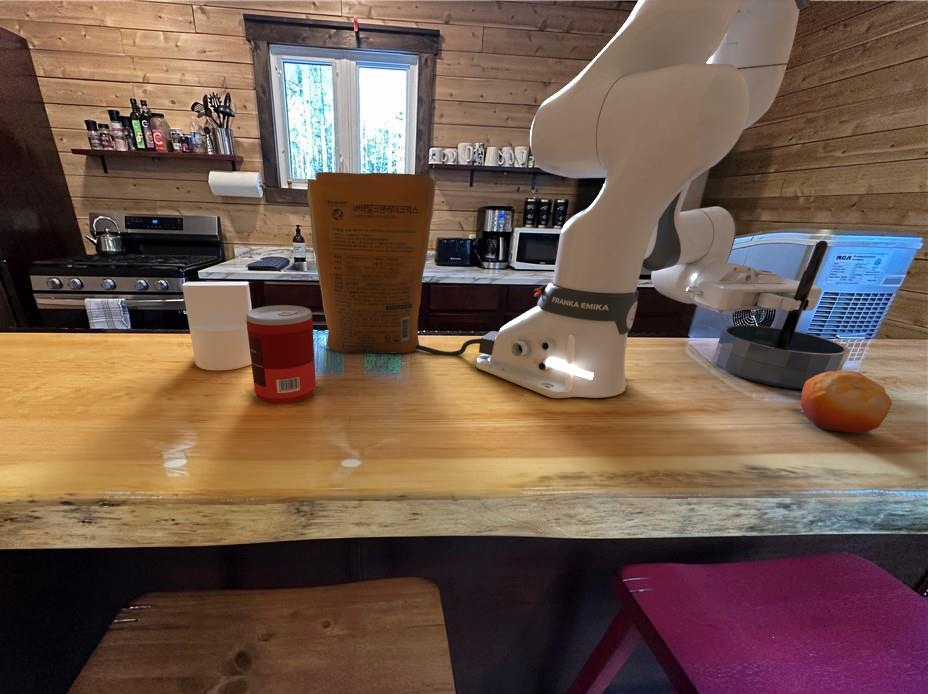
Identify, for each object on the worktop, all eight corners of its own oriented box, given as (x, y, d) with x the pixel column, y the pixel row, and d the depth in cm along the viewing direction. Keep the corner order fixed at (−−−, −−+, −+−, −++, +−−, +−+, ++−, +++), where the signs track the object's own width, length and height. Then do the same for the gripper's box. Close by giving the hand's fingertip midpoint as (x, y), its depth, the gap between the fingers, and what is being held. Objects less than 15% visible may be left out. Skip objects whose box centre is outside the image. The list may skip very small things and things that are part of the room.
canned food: (327, 387, 60) (324, 309, 56) (289, 410, 53) (281, 323, 49) (283, 377, 63) (277, 302, 59) (242, 397, 56) (231, 314, 52)
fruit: (848, 402, 59) (891, 364, 52) (864, 453, 54) (913, 418, 48) (778, 392, 61) (810, 355, 55) (787, 440, 57) (824, 406, 50)
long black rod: (754, 364, 72) (800, 239, 64) (756, 356, 75) (800, 238, 68) (794, 372, 69) (847, 242, 61) (794, 364, 72) (844, 241, 65)
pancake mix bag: (429, 357, 73) (439, 174, 62) (315, 355, 72) (304, 168, 61) (426, 345, 80) (434, 176, 69) (321, 343, 78) (312, 171, 67)
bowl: (705, 372, 72) (716, 337, 69) (718, 350, 83) (728, 320, 81) (836, 402, 62) (853, 362, 60) (830, 372, 74) (844, 338, 72)
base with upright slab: (189, 371, 64) (174, 289, 59) (202, 352, 72) (190, 278, 67) (254, 368, 66) (245, 289, 61) (259, 350, 74) (251, 278, 69)
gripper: (684, 270, 76) (757, 285, 64) (776, 271, 81) (861, 285, 68) (674, 306, 79) (742, 326, 66) (765, 305, 83) (844, 324, 71)
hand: (804, 305), depth 67 cm, fingers closed on long black rod, 2 cm apart
